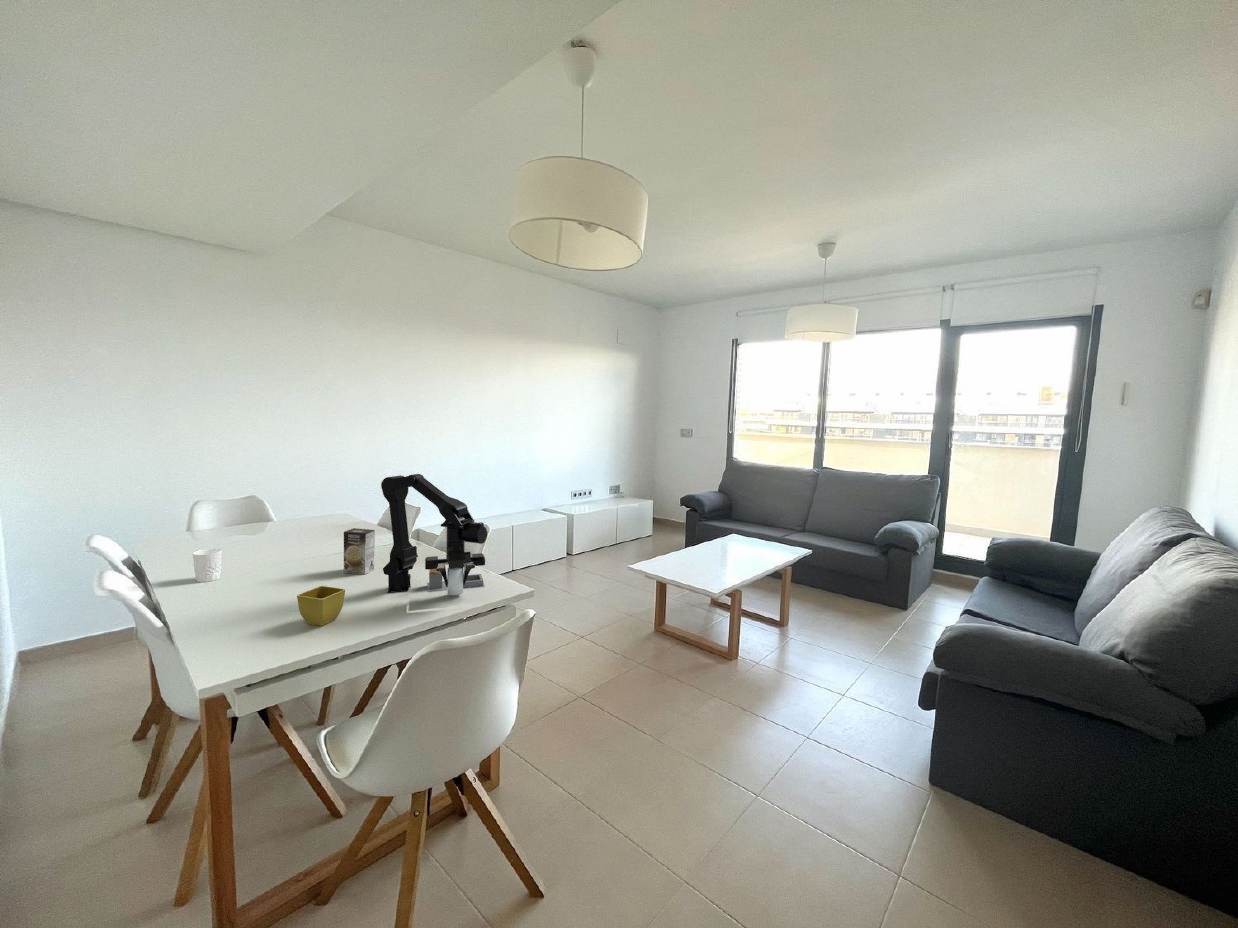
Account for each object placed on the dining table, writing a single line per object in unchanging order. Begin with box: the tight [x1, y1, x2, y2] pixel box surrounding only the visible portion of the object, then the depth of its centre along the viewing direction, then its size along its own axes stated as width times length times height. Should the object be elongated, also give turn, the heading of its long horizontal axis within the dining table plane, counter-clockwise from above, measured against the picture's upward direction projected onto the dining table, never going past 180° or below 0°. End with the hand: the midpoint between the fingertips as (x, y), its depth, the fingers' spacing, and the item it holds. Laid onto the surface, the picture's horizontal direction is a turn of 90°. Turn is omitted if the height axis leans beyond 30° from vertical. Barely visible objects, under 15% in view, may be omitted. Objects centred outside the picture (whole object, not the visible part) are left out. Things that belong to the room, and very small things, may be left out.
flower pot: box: [296, 585, 346, 627], centre depth 138 cm, size 9×9×9 cm
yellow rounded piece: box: [429, 569, 440, 573], centre depth 168 cm, size 4×4×6 cm
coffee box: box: [343, 527, 376, 575], centre depth 184 cm, size 9×6×16 cm
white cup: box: [192, 548, 223, 583], centre depth 170 cm, size 8×8×10 cm
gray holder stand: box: [426, 570, 486, 593], centre depth 171 cm, size 19×10×6 cm, turn 112°
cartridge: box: [446, 567, 464, 596], centre depth 160 cm, size 5×5×9 cm
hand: (455, 586), depth 160 cm, fingers closed on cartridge, 5 cm apart
